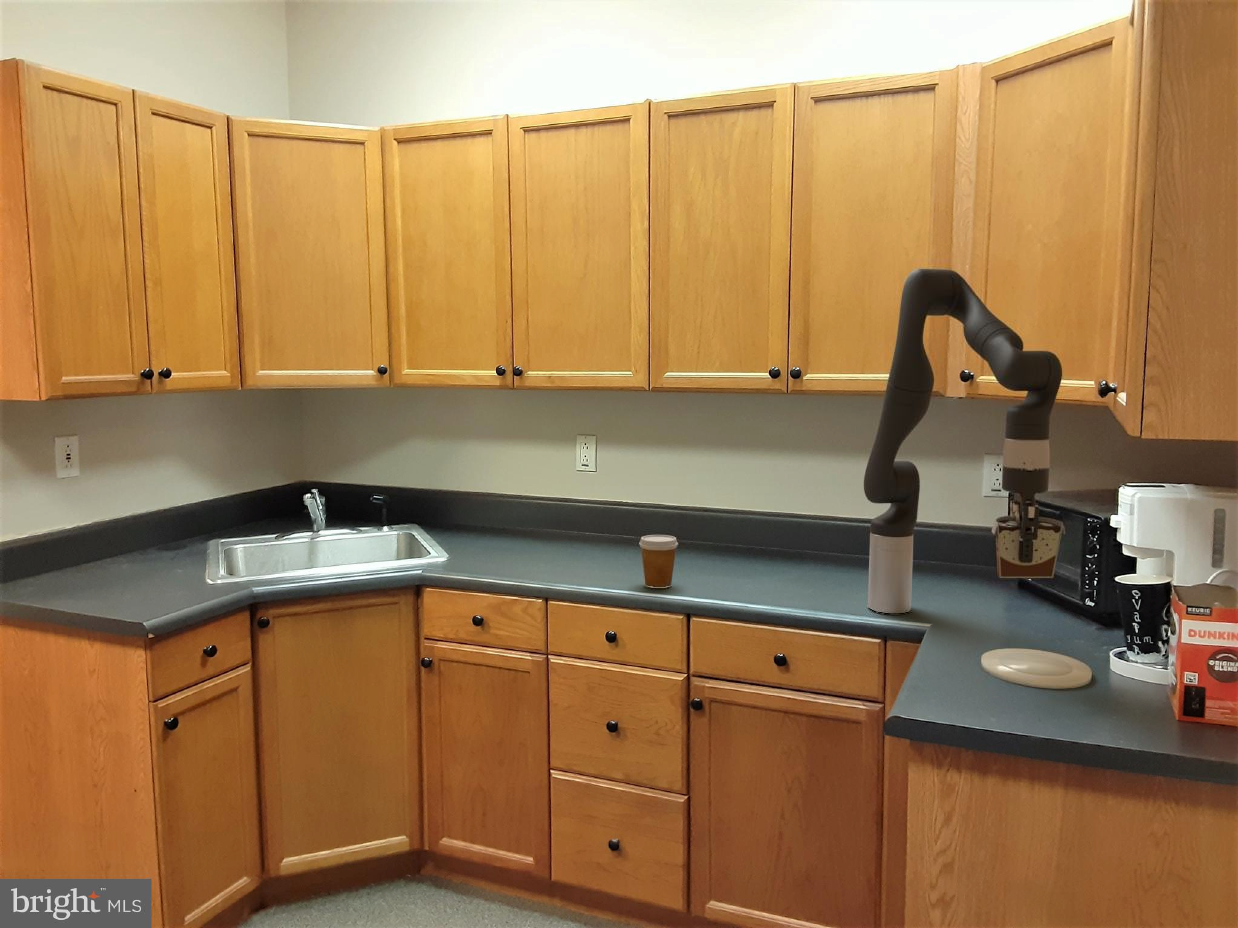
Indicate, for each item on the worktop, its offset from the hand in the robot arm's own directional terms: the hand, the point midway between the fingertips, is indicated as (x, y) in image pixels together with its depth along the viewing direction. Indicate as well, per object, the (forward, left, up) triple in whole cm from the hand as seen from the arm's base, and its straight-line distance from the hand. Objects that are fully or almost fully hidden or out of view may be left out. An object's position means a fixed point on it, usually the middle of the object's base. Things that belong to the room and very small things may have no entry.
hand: (1022, 558), depth 162 cm
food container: (-1, 0, -3) cm, 3 cm away
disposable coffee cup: (-44, -74, -20) cm, 89 cm away
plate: (+1, +3, -20) cm, 20 cm away
